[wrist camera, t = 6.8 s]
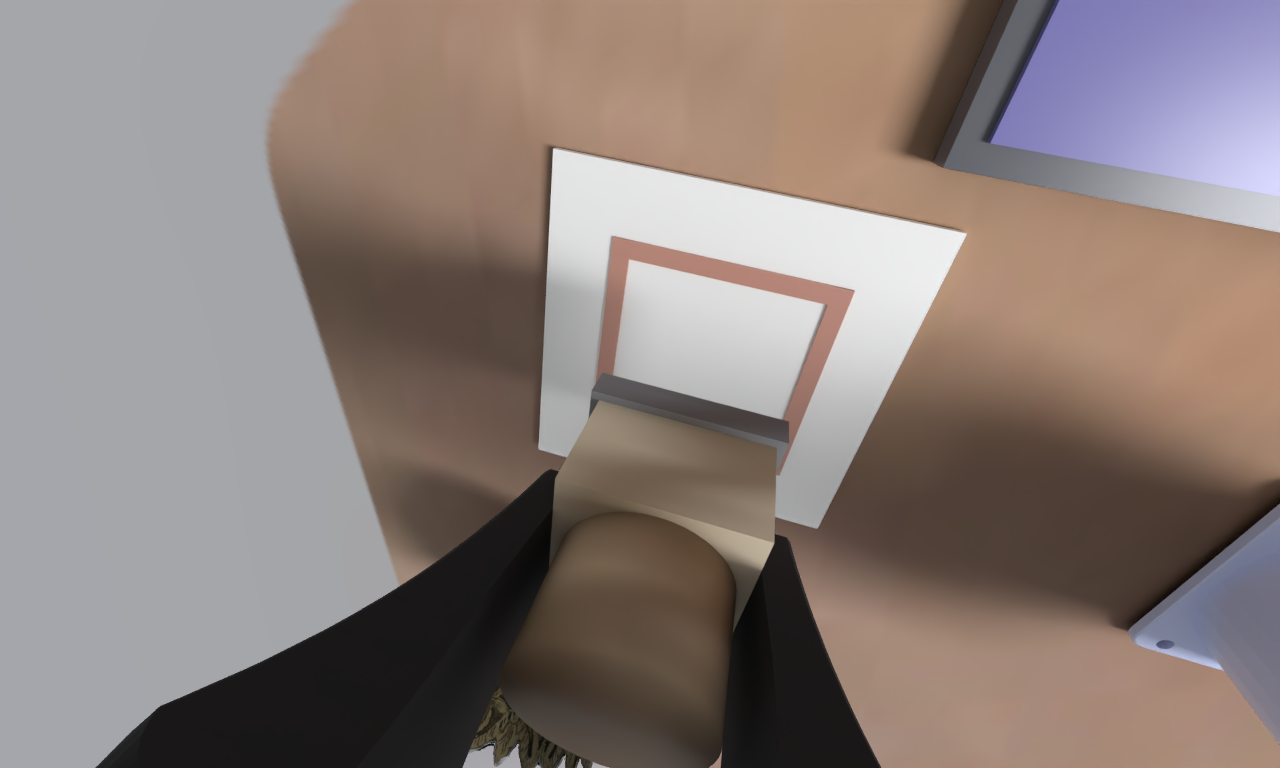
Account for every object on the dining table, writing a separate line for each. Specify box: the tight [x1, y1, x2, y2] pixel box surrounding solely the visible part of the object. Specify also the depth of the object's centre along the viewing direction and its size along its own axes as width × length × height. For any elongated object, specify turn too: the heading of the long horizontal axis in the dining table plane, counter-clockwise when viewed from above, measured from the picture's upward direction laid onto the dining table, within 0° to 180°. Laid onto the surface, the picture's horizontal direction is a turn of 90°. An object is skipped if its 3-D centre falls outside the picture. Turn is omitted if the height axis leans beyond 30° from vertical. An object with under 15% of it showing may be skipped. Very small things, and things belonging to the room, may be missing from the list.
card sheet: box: [538, 147, 967, 529], centre depth 18 cm, size 12×12×1 cm
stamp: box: [499, 373, 789, 768], centre depth 10 cm, size 4×4×6 cm
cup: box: [468, 683, 593, 768], centre depth 22 cm, size 8×7×8 cm
